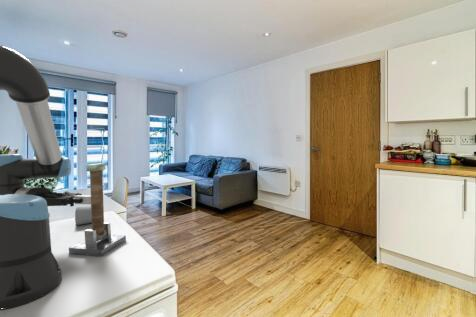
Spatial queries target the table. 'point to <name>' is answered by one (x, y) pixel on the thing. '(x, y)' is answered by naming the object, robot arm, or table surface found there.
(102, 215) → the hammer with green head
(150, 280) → the table surface
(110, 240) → the stand base
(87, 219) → the ceramic mug
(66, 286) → the table surface
